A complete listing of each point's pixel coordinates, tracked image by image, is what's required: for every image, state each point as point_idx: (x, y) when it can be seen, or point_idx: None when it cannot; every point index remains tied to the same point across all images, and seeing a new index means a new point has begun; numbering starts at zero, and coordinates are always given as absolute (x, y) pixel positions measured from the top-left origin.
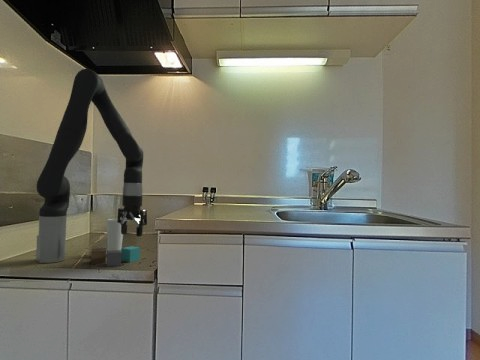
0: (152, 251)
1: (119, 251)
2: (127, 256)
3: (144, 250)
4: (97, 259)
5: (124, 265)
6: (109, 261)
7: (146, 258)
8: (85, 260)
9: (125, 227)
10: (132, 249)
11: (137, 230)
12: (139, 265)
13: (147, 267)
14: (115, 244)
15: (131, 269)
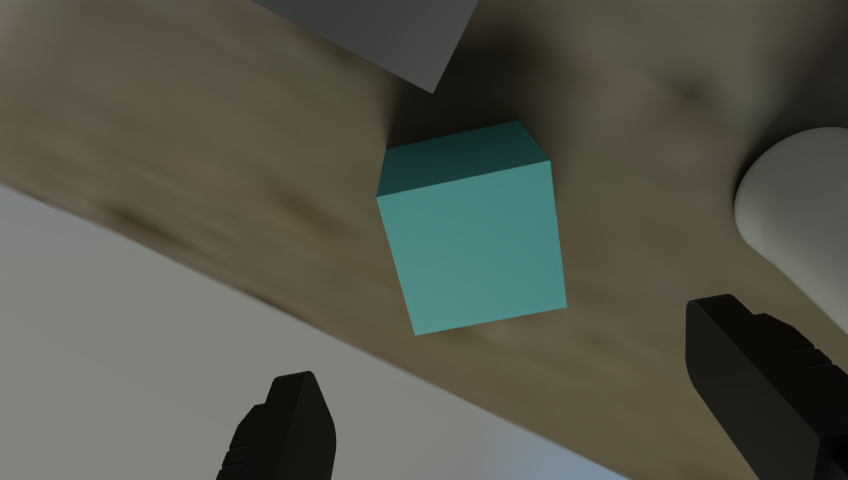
0: (630, 475)
1: (340, 15)
2: (423, 156)
3: (715, 453)
4: None
5: (287, 36)
6: None
7: None
8: None
9: (764, 448)
10: (386, 229)
11: (248, 459)
12: (206, 155)
13: (90, 171)
14: (829, 215)
15: (74, 4)
